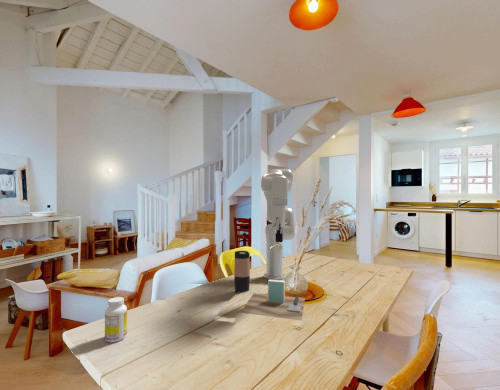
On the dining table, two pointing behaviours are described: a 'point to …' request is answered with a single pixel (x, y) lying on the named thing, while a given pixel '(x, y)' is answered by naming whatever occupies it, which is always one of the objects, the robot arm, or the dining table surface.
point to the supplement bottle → (115, 320)
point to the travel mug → (242, 271)
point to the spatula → (294, 306)
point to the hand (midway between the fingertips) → (279, 241)
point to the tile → (276, 291)
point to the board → (272, 307)
